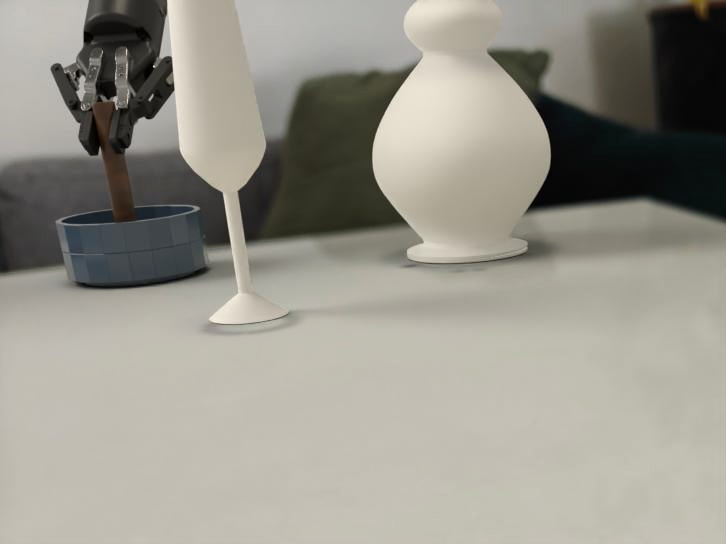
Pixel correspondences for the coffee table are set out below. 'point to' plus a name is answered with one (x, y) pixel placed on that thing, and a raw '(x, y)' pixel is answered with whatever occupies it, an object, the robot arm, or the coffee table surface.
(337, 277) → the coffee table surface
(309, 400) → the coffee table surface
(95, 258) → the bowl
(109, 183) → the stirring stick
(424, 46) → the decorative vase
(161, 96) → the robot arm
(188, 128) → the champagne flute
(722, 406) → the coffee table surface
